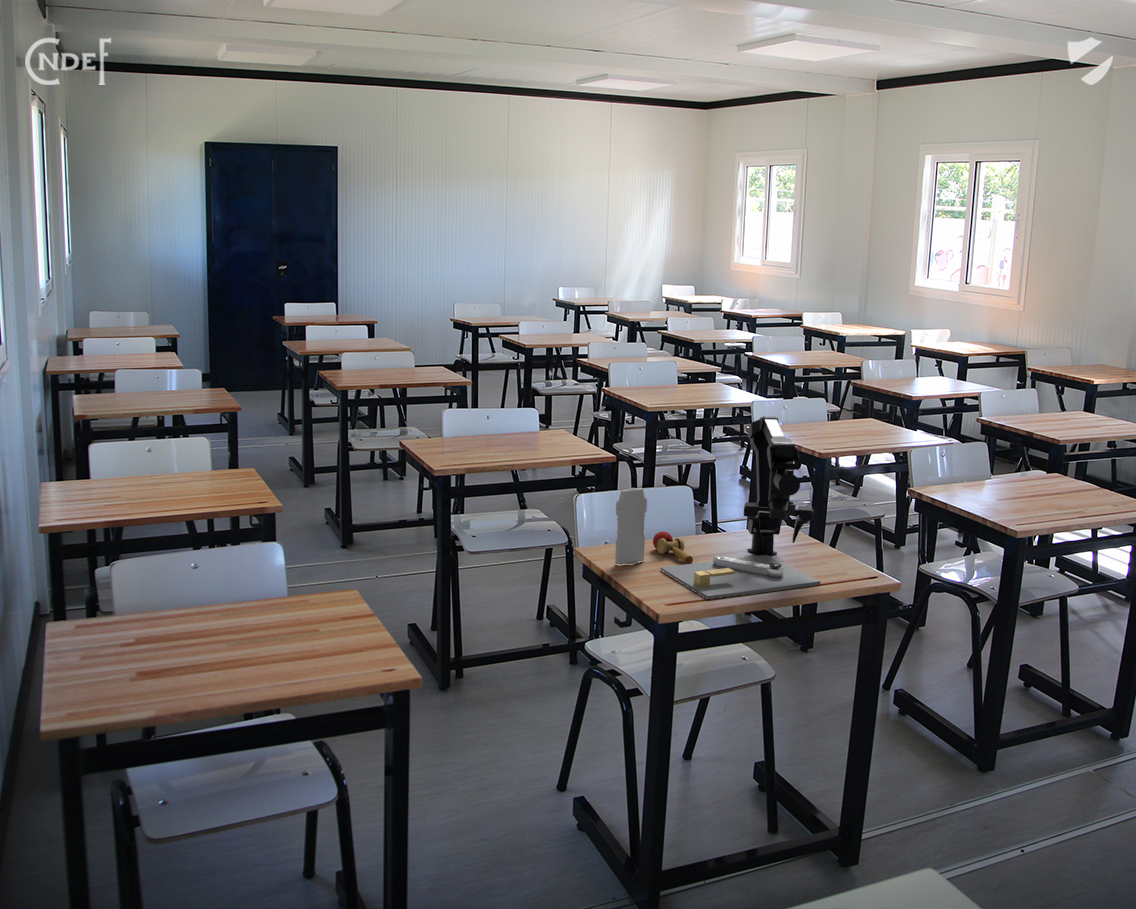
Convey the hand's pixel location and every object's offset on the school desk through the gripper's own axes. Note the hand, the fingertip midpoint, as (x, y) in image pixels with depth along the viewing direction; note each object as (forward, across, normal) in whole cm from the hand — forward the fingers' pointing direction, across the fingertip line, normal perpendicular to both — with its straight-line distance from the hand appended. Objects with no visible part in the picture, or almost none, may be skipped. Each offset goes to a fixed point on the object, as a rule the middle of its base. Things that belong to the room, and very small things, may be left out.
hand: (776, 541), depth 264 cm
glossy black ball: (+5, 0, -8) cm, 10 cm away
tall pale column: (+9, -40, -5) cm, 41 cm away
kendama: (+9, -29, +5) cm, 31 cm away
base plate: (+8, -10, -9) cm, 16 cm away
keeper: (+7, -16, -19) cm, 26 cm away
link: (+7, -7, -5) cm, 12 cm away
